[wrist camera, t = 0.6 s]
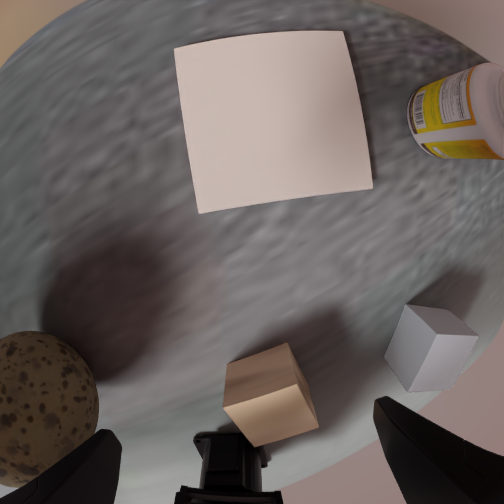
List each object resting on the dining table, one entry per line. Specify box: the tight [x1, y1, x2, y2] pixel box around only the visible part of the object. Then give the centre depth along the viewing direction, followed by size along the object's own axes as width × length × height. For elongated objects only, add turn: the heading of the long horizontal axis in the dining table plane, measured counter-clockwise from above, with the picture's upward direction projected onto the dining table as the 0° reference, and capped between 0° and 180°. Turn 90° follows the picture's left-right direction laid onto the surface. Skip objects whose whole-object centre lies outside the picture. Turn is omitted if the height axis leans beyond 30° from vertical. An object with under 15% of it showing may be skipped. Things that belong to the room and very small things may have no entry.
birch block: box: [223, 342, 319, 447], centre depth 20 cm, size 5×5×5 cm
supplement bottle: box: [407, 63, 504, 160], centre depth 12 cm, size 6×6×10 cm
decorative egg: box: [0, 331, 99, 488], centre depth 14 cm, size 11×11×15 cm
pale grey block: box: [384, 304, 479, 392], centre depth 19 cm, size 5×5×5 cm
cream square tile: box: [174, 31, 373, 214], centre depth 16 cm, size 11×11×1 cm
